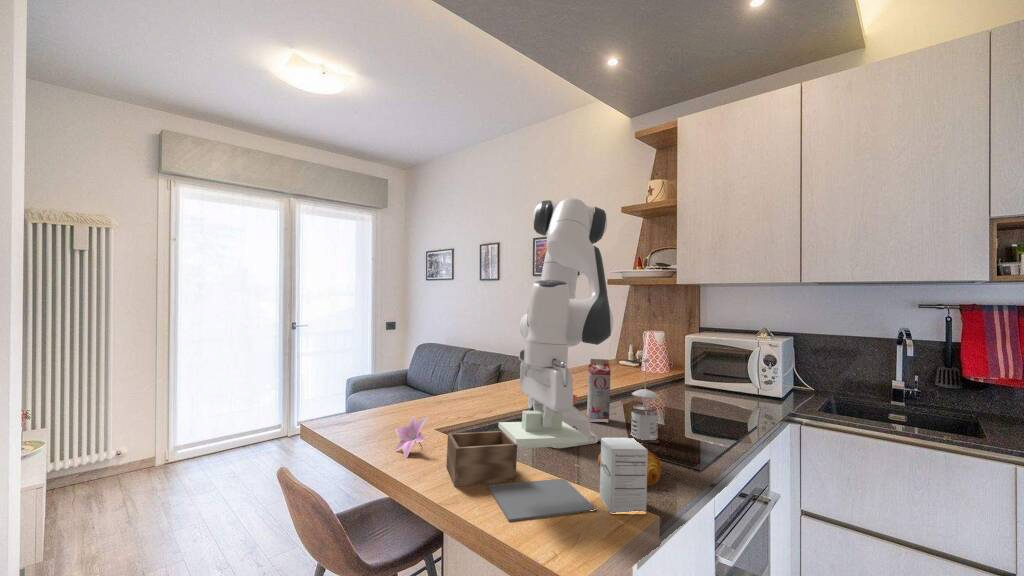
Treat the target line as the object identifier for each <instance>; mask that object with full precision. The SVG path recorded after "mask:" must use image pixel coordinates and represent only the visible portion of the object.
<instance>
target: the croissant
mask: <svg viewBox="0 0 1024 576" xmlns="http://www.w3.org/2000/svg"><path fill="white" fill-rule="evenodd" d="M597 466H598V468H599V469H600V467H601V452H600V453H599V454H598V456H597ZM662 467H663V462H662V461H661V460H660V459H659V457H658V456H657V455H655V454H654V453H653V452H652V451H649V450H648V461H647V487H650V486H653V485H655V484H656V483H658V482H659V481H660V480H661V475H662V473H663V471H662Z"/></svg>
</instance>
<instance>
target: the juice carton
mask: <svg viewBox="0 0 1024 576" xmlns="http://www.w3.org/2000/svg"><path fill="white" fill-rule="evenodd" d="M589 361H590V362H589V365H588V371H587V372H588V375H587V377H588V378H587V404H586V405H587V410H586V411H587V412H586V416H587V415H588V416H589V418H590V419H609V420H610V411H611V410H610V406H611V405H610V404H611V403H610V402H611V401H610V400H611V396H610V395H611V367H610V362H609V361H610V359H605V358H604V359H603V358H590V360H589Z"/></svg>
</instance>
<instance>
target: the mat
mask: <svg viewBox="0 0 1024 576" xmlns="http://www.w3.org/2000/svg"><path fill="white" fill-rule="evenodd" d="M487 488H488V489H489V491H490V493H491V494H492V496H493V498H494V499H495V501H496V503H497V504H498V507H500V510H501V511H502V513H503V514H504V516H505V518H506V519H507V521H508V522H515V521H524V520H525V521H526V520H531V519H533V520H534V519H541V518H542V519H543V518H549V517H556V516H557V517H558V516H564V515H565V516H566V514H567V515H572V514H574V513H575V514H580V513H579V512H583V513H585V512H584V511H590V510H594V509H597V507H596V506H595V505H593V504H592V502H590V501H589V500H588V499H587V498H586V497H585V496H584V495H583V494H581V492H580V491H578V490H577V489H576V488H575V487H574V486H573V485H572V484H571V483H570V482H569V481H567V479H565V478H563V477H562V478H555V479H543V480H542V479H541V480H533V481H521V482H511V483H509V482H508V483H501V484H500V483H499V484H489V485H487ZM597 510H598V509H597Z"/></svg>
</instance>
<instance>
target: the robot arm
mask: <svg viewBox="0 0 1024 576" xmlns="http://www.w3.org/2000/svg"><path fill="white" fill-rule="evenodd" d="M585 203H586V202H583V200H581V199H578V198H574V197H570V198H569V197H568V198H565V199H563V200H561V201H552V200H550V199H548V200H541V201H540V202H538V203H537V205H536V206H535V208H534V210H533V213H532V218H531V219H532V226H533V230H534V231H535V233H536V234H539V235H541V236H544V237H545V236H546V251H545V252H546V253H545V256H544V260H543V266H542V271H541V278H540V280H537V281H534V283H533V284H532V287H531V291H530V296H529V302H528V308H527V313H525V314H524V315H523V316H522V317H521V319H520V322H519V331H520V334H521V336H522V337H523V339H524V341H525V347H523V349H521V350H519V353H518V354H519V355H518V360H519V361H521V362H520V367H519V368H520V369H519V387H520V391H521V392H522V393H523V394H524V395H526V396H528V397H527V399H528V400H527V406H528V411H544V414H543V417H541V425H542V426H544V427H551V426H552V418H553V416H554V413H555V411H556V412H561V413H563V416H562V421H563V422H564V423H566V424H568V425H569V426H571V427H573V428H574V429H576V430H577V431H579V432H581V433H582V434H584V435H586V436H587V437H588V442H577V445H576V446H575V447H579V446H586V445H591V444H597V442H598V443H599V438H598V436H597V435H596V434H595V433H593V432H592V431H591V424H590V421H589V420H588V418H587V416H586V415H585V414H583V413H582V412H581V411H580V410H579V409H578V408H576V407H575V406H574V403H577V402H578V401H579V397H578V396H577V395H575V394H574V382H573V374H572V372H570V369H569V368H568V358H569V357H568V356H569V355H568V353H569V347H575V346H577V345H579V344H580V343H584V344H591V345H596V346H597V345H600V344H602V343H604V342H605V341H607V339H609V337H611V336H612V332H613V328H614V317H613V312H612V308H611V306H610V303H609V298H608V297H609V296H608V289H607V281H606V273H605V268H604V262H603V258H602V256H603V255H602V253H601V250H600V248H599V247H597V246H596V245H594V244H596V243H598V242H600V240H602V238H603V236H604V235H605V233H606V231H607V229H608V228H607V227H608V217H607V213H606V211H605V210H604V209H602V208H600V207H597V206H590V205H587V204H585ZM579 273H581V274H583V276H585V277H587V279H588V286H589V294H590V297H588V298H582V299H581V298H576V288H577V282H578V276H579ZM572 447H573V448H574V446H563V447H552V448H554V449H566V448H572Z"/></svg>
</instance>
